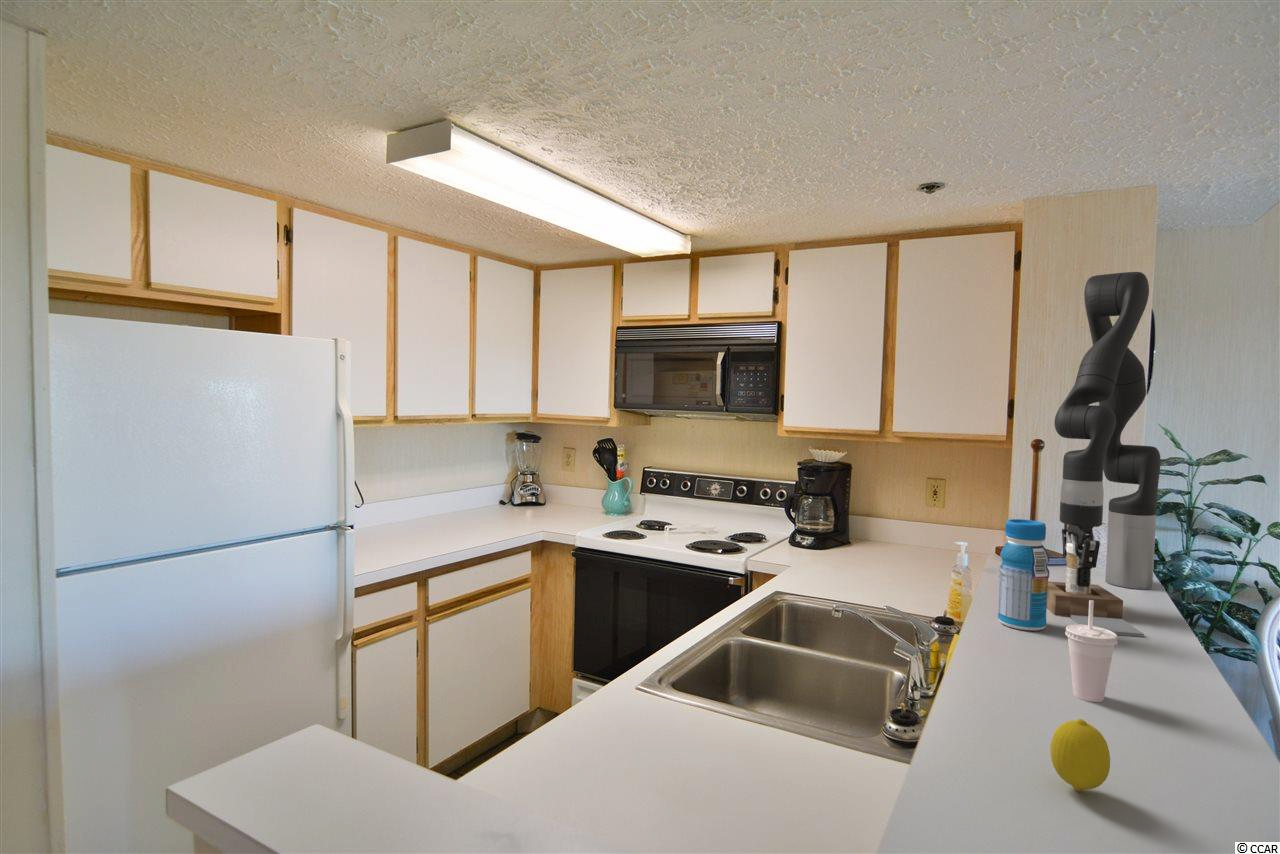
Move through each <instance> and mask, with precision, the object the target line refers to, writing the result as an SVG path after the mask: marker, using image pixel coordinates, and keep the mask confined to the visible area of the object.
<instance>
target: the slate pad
mask: <svg viewBox="0 0 1280 854" xmlns="http://www.w3.org/2000/svg"><path fill="white" fill-rule="evenodd" d="M1070 619H1072V621H1074V622H1075V624H1080V625H1088V616H1079V615H1071V616H1070ZM1093 626H1096V627H1100V628H1104V629H1107V630H1110V631H1112V632H1114V633H1115V634H1116V635H1117V636H1125V637H1127V636H1128V637H1135V638H1136V637H1139V638H1144V637H1145V636H1144V635H1145V634H1144V633H1143V632H1142V631H1140V630H1138V628H1136V627H1134V626H1133V625H1131V624H1130V623H1128V622H1127V621H1126V620H1124V619H1123V618H1122V619H1117V618H1104V617H1093Z"/></svg>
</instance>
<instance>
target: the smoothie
mask: <svg viewBox="0 0 1280 854" xmlns="http://www.w3.org/2000/svg"><path fill="white" fill-rule="evenodd" d="M1093 606H1094V601H1092V600H1089V616H1088V625H1080V624H1078V623H1075V624H1069V625H1067V626H1065V632H1064V633H1065V636H1067V639H1068V640H1067V641H1068V643H1067V644H1068V650H1069V652H1068V653H1069V660H1070V661H1069V662H1070V671H1071V682H1072V694H1073V696H1074V697H1077V698H1078V699H1080V700H1084V701H1087V702H1091V703H1092V702H1093V703H1101V702H1103V701H1104V700H1105V694H1106V689H1107V683H1108V679H1109V675H1110V674H1109V673H1110V671H1111V663H1112V659H1113V654H1114V649H1115V645H1117V644H1118V643H1119V642H1118V635H1116V634H1115V633H1114V632H1112V631H1110V630H1107V629H1104V628H1100V627H1096V626H1093Z"/></svg>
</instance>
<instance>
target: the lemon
mask: <svg viewBox="0 0 1280 854" xmlns="http://www.w3.org/2000/svg"><path fill="white" fill-rule="evenodd" d="M1104 737H1105V736H1104V735H1103V734H1102V733H1101V732H1100V731H1099V730H1098V729H1097V728H1095V727H1094V725H1093V724H1090V723H1088V722H1087V721H1086V720H1085V719H1082V718H1078V719H1076V720H1069V721H1065V722H1064V723H1062V724H1060V725H1059V726H1058V727H1057V728H1056V729H1055V731H1054V733H1053V736H1052V738H1051V742H1050V758H1051V762H1052V765H1053V768H1054V770H1055V772H1056V773H1057V775H1059V777H1060V778H1061V779H1062V781H1064V782H1065V783H1066V784H1068V785H1070V786H1071V787H1072V788H1073V789H1074V791H1076V792H1078V793H1079V792H1083V791H1085V790H1092V789H1096V788H1098V787H1100V786H1101V785H1103V783H1104V782H1105V781H1106V780H1107V778H1108V777H1109V774H1110V769H1111V755H1110V749H1109V746H1108V743H1107V740H1106V739H1105V738H1104Z"/></svg>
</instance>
